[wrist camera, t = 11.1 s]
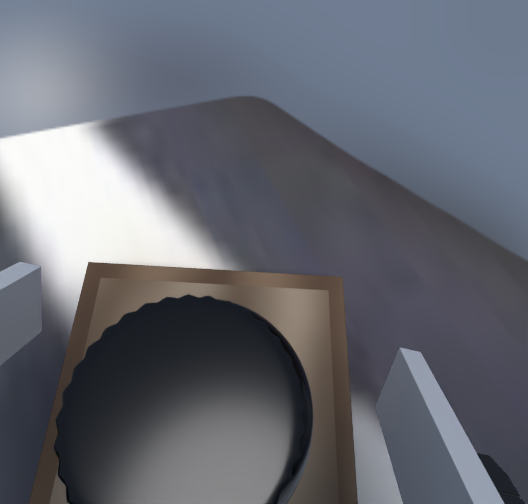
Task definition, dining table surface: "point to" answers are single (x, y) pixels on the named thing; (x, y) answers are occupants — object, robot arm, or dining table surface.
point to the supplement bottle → (186, 410)
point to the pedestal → (265, 304)
